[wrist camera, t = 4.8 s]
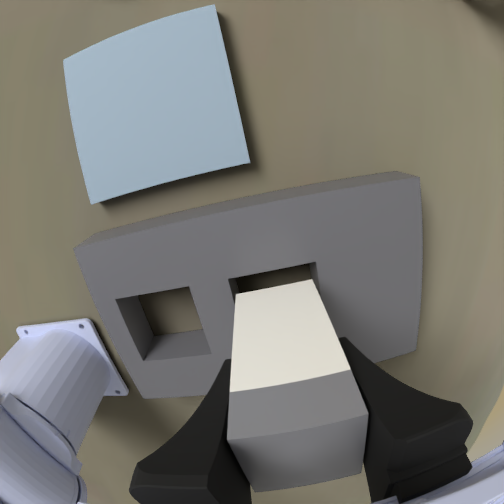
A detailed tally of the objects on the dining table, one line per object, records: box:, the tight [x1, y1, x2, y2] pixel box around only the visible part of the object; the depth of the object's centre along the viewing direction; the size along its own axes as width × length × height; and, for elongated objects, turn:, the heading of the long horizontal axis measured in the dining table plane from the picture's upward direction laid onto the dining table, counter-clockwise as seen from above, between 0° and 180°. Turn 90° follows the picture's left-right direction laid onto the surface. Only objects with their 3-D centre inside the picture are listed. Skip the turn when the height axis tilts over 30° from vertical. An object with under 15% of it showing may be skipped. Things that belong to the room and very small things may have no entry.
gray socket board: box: [73, 171, 423, 399], centre depth 19 cm, size 20×12×3 cm, turn 102°
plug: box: [227, 279, 368, 492], centre depth 12 cm, size 4×4×9 cm
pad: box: [63, 4, 250, 205], centre depth 15 cm, size 10×10×1 cm
